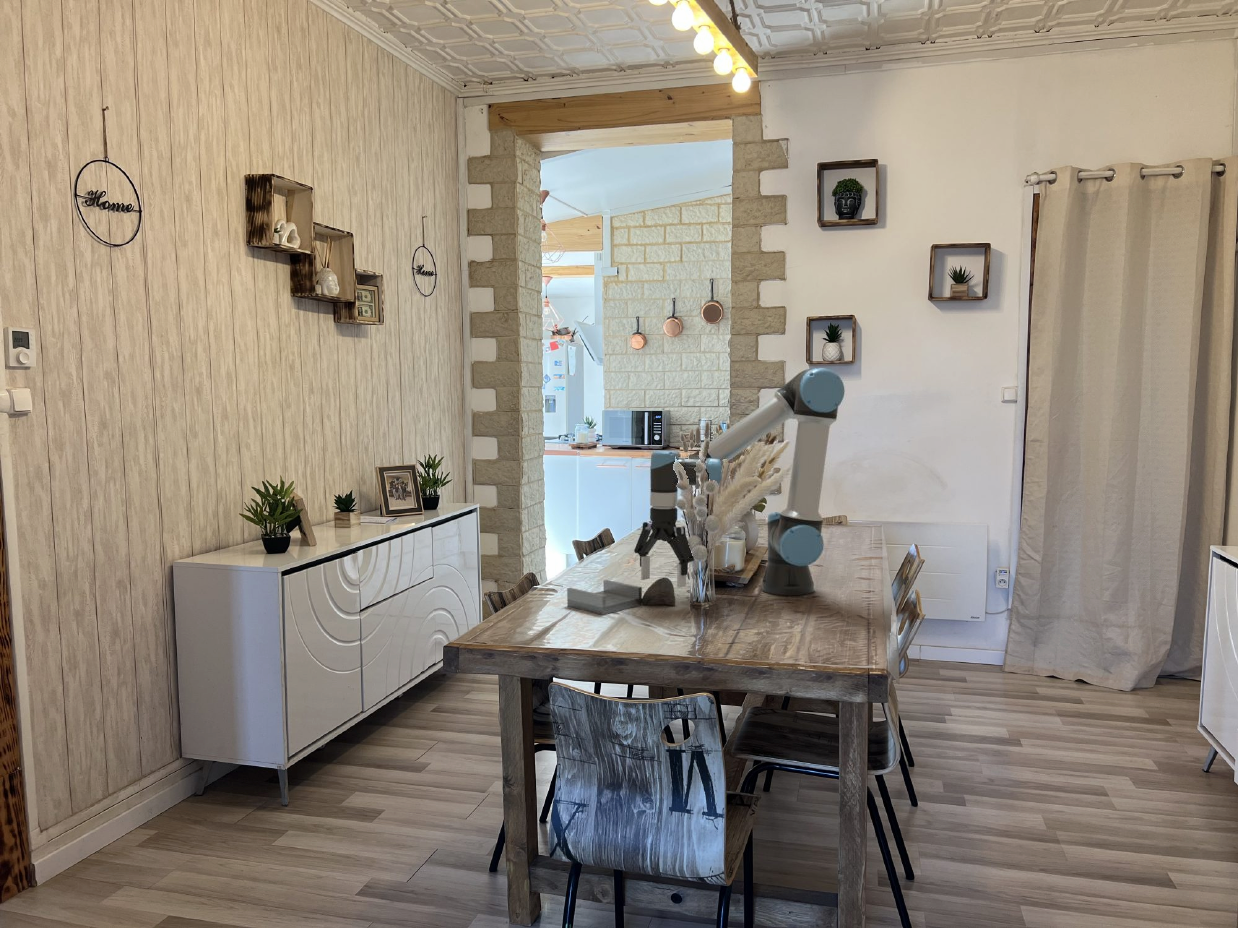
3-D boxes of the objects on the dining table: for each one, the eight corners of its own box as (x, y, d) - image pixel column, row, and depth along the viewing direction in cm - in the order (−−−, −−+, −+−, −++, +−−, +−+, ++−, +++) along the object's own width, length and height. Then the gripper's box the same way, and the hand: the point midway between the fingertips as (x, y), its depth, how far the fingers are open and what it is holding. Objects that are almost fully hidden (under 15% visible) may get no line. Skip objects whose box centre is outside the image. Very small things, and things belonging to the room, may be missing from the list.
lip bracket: (641, 604, 248) (641, 587, 248) (602, 614, 238) (602, 596, 237) (606, 596, 258) (606, 579, 258) (567, 606, 248) (567, 588, 247)
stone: (657, 622, 244) (683, 597, 244) (635, 599, 246) (662, 574, 245) (660, 618, 254) (685, 594, 254) (639, 596, 255) (664, 572, 255)
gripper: (707, 510, 242) (706, 587, 244) (640, 501, 259) (640, 574, 261) (689, 512, 237) (688, 592, 238) (622, 503, 254) (621, 577, 256)
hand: (663, 582), depth 250 cm, fingers open, 13 cm apart
